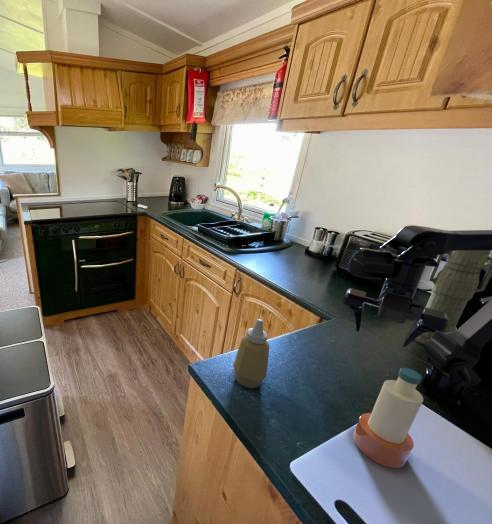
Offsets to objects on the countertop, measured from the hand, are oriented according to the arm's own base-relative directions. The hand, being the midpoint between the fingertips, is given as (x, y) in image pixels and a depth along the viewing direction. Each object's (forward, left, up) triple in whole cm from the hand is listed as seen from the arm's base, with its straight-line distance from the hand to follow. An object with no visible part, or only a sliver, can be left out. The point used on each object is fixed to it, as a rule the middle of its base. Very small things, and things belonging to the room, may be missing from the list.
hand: (380, 338), depth 72 cm
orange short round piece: (-4, +22, -13) cm, 26 cm away
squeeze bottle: (+23, +22, -13) cm, 34 cm away
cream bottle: (-4, +22, -8) cm, 24 cm away
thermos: (-15, -38, -13) cm, 42 cm away
